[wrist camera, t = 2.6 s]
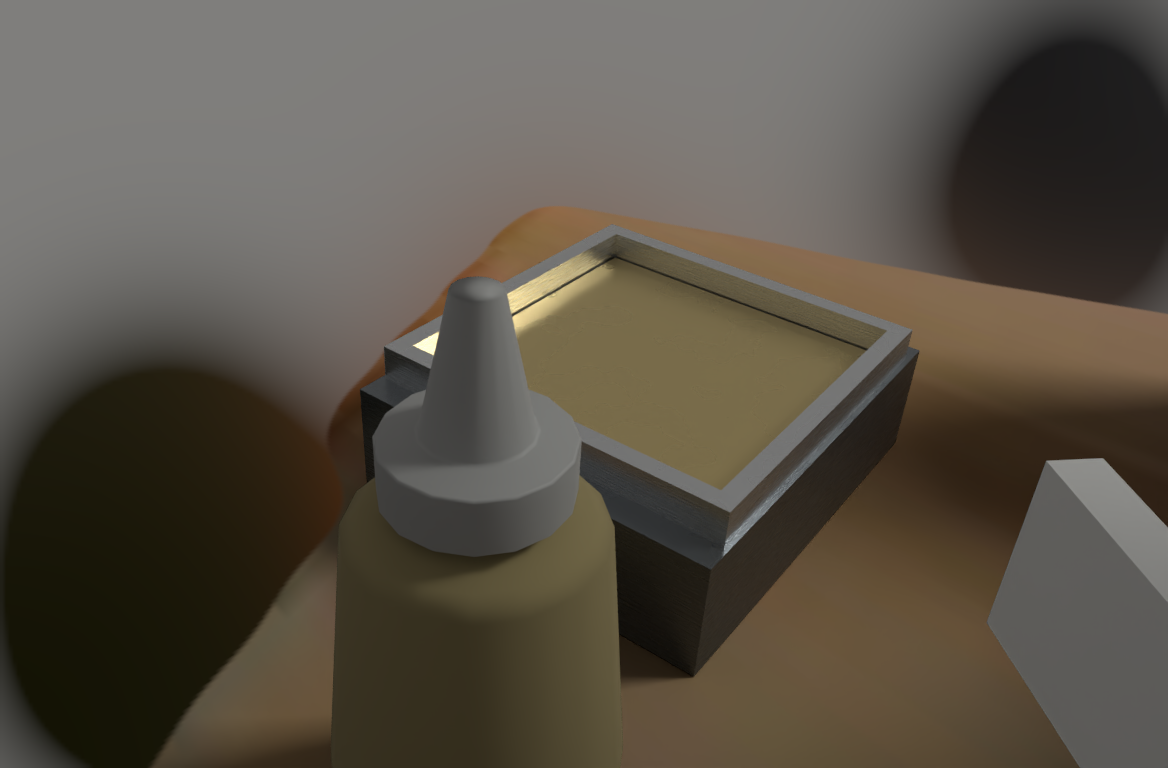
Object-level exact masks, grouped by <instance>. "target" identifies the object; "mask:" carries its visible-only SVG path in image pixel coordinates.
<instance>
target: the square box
mask: <svg viewBox="0 0 1168 768" xmlns="http://www.w3.org/2000/svg"><path fill="white" fill-rule="evenodd" d="M502 284H503V285H504V286H505V289H506V292H507V296H508V301H509V305H510V310H511V314H512V319H513V323H514V327H515V332H516V336H517V341H518V345H519V350H520V354H521V358H522V363H523V367H524V372H525V376H526V381H527V385H528V389H529V390H531V391H534V392H537V393H539V394H542V395H544V396H547V397H549V398H550V399H551V400H552V401H553V402H555V403H556V404H557V405H558V406H560V407H561V408H562V409H563V410H564V411H566V412H567V413H568V414H569V415H570V416H572V418H573V420H574V423H575V425H576V427H577V430H578V432H579V435H580V437H581V439H582V443H581V459H580V474H579V475H580V476H581V477H582V478H583V479H585V480H586V481H587V482H588V483H589V484H590V485H591V486H593V487H594V488H595V489H596V490H597V491H598V492H599V493H600V494H601V495H602V498H603V500H604V503H605V505H606V507H607V510H608V512H609V515H610V517H611V520H612V522H613V525H614V527H615V552H616V578H617V604H618V629H619V634H620V635H622V636H624V637H626V638H627V639H629V640H631V641H633V642H634V643H636V644H638V645H640V646H641V647H643V648H645V649H647V650H648V651H650V652H652V653H654V654H655V655H657V656H659V657H661V658H662V659H664V660H666V661H667V662H669V663H671V664H673V665H674V666H676V667H678V668H680V669H681V670H683V671H685V672H687V673H688V674H690V675H692V676H695V675H696V674H697V672H698V671H699V670H700V669H701V668H702V667H703V665H704V664H705V663H706V662H707V661H708V660H709V658H710V657H711V656H712V655H713V654H714V653H715V651H716V650H717V649H718V648H719V647H720V646H721V644H722V643H723V642H724V641H725V640H726V639H727V637H728V636H729V635H730V634H731V633H732V632H733V631H734V629H735V628H736V627H737V626H738V625H739V624H740V622H741V621H742V620H743V619H744V618H745V617H746V615H747V614H748V613H749V612H750V611H751V610H752V608H753V607H754V606H755V605H756V604H757V603H758V601H759V600H760V599H761V598H762V597H763V596H764V595H765V593H766V592H767V591H768V590H769V589H770V588H771V586H772V585H773V584H774V583H775V582H776V581H777V579H778V578H779V577H780V576H781V575H782V574H783V572H784V571H785V570H786V569H787V568H788V567H789V565H790V564H791V563H792V562H793V561H794V560H795V558H796V557H797V556H798V555H799V554H800V553H801V552H802V550H803V549H804V548H805V547H806V546H807V545H808V543H809V542H810V541H811V540H812V539H813V538H814V536H815V535H816V534H817V533H818V532H819V531H820V529H821V528H822V527H823V526H824V525H825V524H826V522H827V521H828V520H829V519H830V518H831V517H832V515H833V514H834V513H835V512H836V511H837V510H838V509H839V507H840V506H841V505H842V504H843V503H844V502H845V500H846V499H847V498H848V497H849V496H850V495H851V493H852V492H853V491H854V490H855V489H856V488H857V486H858V485H859V484H860V483H861V482H862V481H863V479H864V478H865V477H866V476H867V475H868V474H869V473H870V471H871V470H872V469H873V468H874V467H875V466H876V464H877V463H878V462H879V461H880V460H881V459H882V457H883V456H884V455H885V454H886V453H887V452H888V450H889V449H890V448H891V447H892V446H893V445H894V443H895V441H896V438H897V434H898V430H899V426H900V423H901V419H902V415H903V411H904V408H905V404H906V400H907V396H908V392H909V389H910V385H911V381H912V377H913V374H914V370H915V366H916V362H917V359H918V355H919V350H916V349H913V348H911V347H908V346H909V342H910V338H911V334H912V330H911V329H909V328H906V327H903V326H900V325H897V324H894V323H891V322H889V321H886V320H883V319H880V318H877V317H874V316H872V315H869V314H866V313H863V312H860V311H857V310H855V309H852V308H849V307H846V306H843V305H840V304H837V303H835V302H832V301H829V300H826V299H823V298H820V297H818V296H815V295H812V294H809V293H806V292H803V291H801V290H798V289H795V288H792V287H789V286H786V285H784V284H781V283H778V282H775V281H772V280H769V279H766V278H764V277H761V276H758V275H755V274H752V273H749V272H747V271H744V270H741V269H738V268H735V267H732V266H730V265H727V264H724V263H721V262H718V261H715V260H712V259H710V258H707V257H704V256H701V255H698V254H695V253H693V252H690V251H687V250H684V249H681V248H678V247H676V246H673V245H670V244H667V243H664V242H661V241H659V240H656V239H653V238H650V237H647V236H644V235H641V234H639V233H636V232H633V231H630V230H627V229H624V228H622V227H619V226H616V225H613V224H612V225H610V226H608V227H606V228H604V229H602V230H600V231H599V232H597V233H595V234H593V235H591V236H589V237H587V238H586V239H584V240H582V241H580V242H578V243H576V244H574V245H572V246H571V247H569V248H567V249H565V250H563V251H561V252H559V253H558V254H556V255H554V256H552V257H550V258H548V259H546V260H544V261H543V262H541V263H539V264H537V265H535V266H533V267H531V268H530V269H528V270H526V271H524V272H522V273H520V274H518V275H516V276H515V277H513V278H511V279H509V280H507V281H505V282H503V283H502ZM442 316H443V315H442ZM442 316H440V317H438V318H436V319H434V320H432V321H431V322H429V323H427V324H425V325H423V326H421V327H419V328H418V329H416V330H414V331H412V332H410V333H408V334H406V335H404V336H403V337H401V338H399V339H397V340H395V341H393V342H391V343H390V344H388V345H386V346H384V357H385V374H386V375H385V376H383V377H381V378H379V379H378V380H376V381H374V382H372V383H370V384H369V385H367V386H365V387H363V388H362V389H360V395H361V409H362V422H363V436H364V449H365V463H366V477H367V483H368V482H369V481H370V480H372V479H373V478H374V477H375V468H374V454H373V439H372V437H373V435H374V433H375V431H376V429H377V427H378V426H379V424H380V422H381V420H382V418H383V417H384V415H385V414H386V413H387V412H388V411H389V410H391V409H392V408H394V407H395V406H396V405H398V404H399V403H401V402H402V401H403V400H405V399H406V398H408V397H409V396H410V395H412V394H415V393H418V392H421V391H424V390H426V388H427V383H428V379H429V374H430V370H431V365H432V361H433V356H434V352H435V348H436V343H437V339H438V334H439V330H440V325H441V321H442Z"/></svg>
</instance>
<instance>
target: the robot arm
mask: <svg viewBox="0 0 1168 768" xmlns="http://www.w3.org/2000/svg"><path fill="white" fill-rule="evenodd" d="M987 624H988V625H989V627H990V629H991V630H992V632H993V633H994V635H995V636H996V638H997V639H998V641H999V643H1000V644H1001V646H1002V647H1003V649H1004V650H1005V652H1006V653H1007V655H1008V657H1009V658H1010V660H1011V661H1012V663H1013V664H1014V666H1015V667H1016V669H1017V671H1018V672H1019V674H1020V675H1021V677H1022V678H1023V680H1024V681H1025V683H1026V685H1027V686H1028V688H1029V689H1030V691H1031V692H1032V694H1033V695H1034V697H1035V699H1036V700H1037V702H1038V703H1039V705H1040V706H1041V708H1042V709H1043V711H1044V713H1045V714H1046V716H1047V717H1048V719H1049V720H1050V722H1051V723H1052V725H1053V727H1054V728H1055V730H1056V731H1057V733H1058V734H1059V736H1060V738H1061V739H1062V741H1063V742H1064V744H1065V745H1066V747H1067V748H1068V750H1069V752H1070V753H1071V755H1072V756H1073V758H1074V759H1075V761H1076V762H1077V764H1078V766H1079V767H1080V768H1168V527H1167V526H1166V525H1165V524H1164V523H1163V522H1162V521H1161V520H1160V519H1159V518H1158V517H1157V516H1156V514H1155V513H1154V512H1153V511H1152V510H1151V509H1150V508H1149V507H1148V506H1147V505H1146V504H1145V503H1144V502H1143V501H1142V499H1141V498H1140V497H1139V496H1138V495H1137V494H1136V493H1135V492H1134V491H1133V490H1132V489H1131V488H1130V487H1129V486H1128V484H1127V483H1126V482H1125V481H1124V480H1123V479H1122V478H1121V477H1120V476H1119V475H1118V474H1117V473H1116V472H1115V471H1114V469H1113V468H1112V467H1111V466H1110V465H1109V464H1108V463H1107V462H1106V461H1105V460H1104V459H1103V458H1096V459H1074V460H1052V461H1046V463H1045V466H1044V468H1043V471H1042V474H1041V476H1040V479H1039V482H1038V485H1037V487H1036V490H1035V493H1034V495H1033V498H1032V501H1031V504H1030V506H1029V509H1028V512H1027V514H1026V517H1025V520H1024V523H1023V525H1022V528H1021V531H1020V533H1019V536H1018V539H1017V541H1016V544H1015V547H1014V550H1013V552H1012V555H1011V558H1010V560H1009V563H1008V566H1007V569H1006V571H1005V574H1004V577H1003V579H1002V582H1001V585H1000V588H999V590H998V593H997V596H996V598H995V601H994V604H993V607H992V609H991V612H990V615H989V617H988V620H987Z"/></svg>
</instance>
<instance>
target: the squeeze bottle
mask: <svg viewBox="0 0 1168 768" xmlns="http://www.w3.org/2000/svg"><path fill="white" fill-rule="evenodd" d="M372 439H373V454H374V468H375V477H374V478H373V479H372V480H370V481H369V482H368V483H367V484H365V485H364V486H363V487H361V488H360V489H359V490H357V491H356V493H355V495H354V497H353V499H352V501H351V502H350V504H349V506H348V508H347V510H346V512H345V514H344V516H343V518H342V520H341V521H340V523H339V532H338V560H337V588H336V616H335V644H334V672H333V700H332V728H331V760H332V768H620V764H621V757H622V750H623V732H622V707H621V681H620V655H619V629H618V604H617V578H616V552H615V527H614V525H613V522H612V520H611V517H610V515H609V512H608V510H607V507H606V505H605V503H604V500H603V498H602V495H601V494H600V493H599V492H598V491H597V490H596V489H595V488H594V487H593V486H591V485H590V484H589V483H588V482H587V481H586V480H585V479H583V478H582V477H581V476H580V475H579V474H580V459H581V443H582V439H581V437H580V435H579V432H578V430H577V427H576V425H575V423H574V420H573V418H572V416H570V415H569V414H568V413H567V412H566V411H564V410H563V409H562V408H561V407H560V406H558V405H557V404H556V403H555V402H553V401H552V400H551V399H550V398H549V397H547V396H544V395H542V394H539V393H537V392H534V391H531V390H529V389H528V385H527V381H526V376H525V372H524V367H523V363H522V358H521V354H520V350H519V345H518V341H517V336H516V332H515V327H514V323H513V319H512V314H511V310H510V305H509V301H508V296H507V292H506V289H505V286H504V285H503V284H502V283H500V282H499V281H497V280H494V279H491V278H487V277H467V278H463V279H459V280H457V281H455V282H454V283H452V284H451V286H450V288H449V290H448V294H447V299H446V303H445V308H444V312H443V316H442V321H441V325H440V330H439V334H438V339H437V343H436V348H435V352H434V356H433V361H432V365H431V370H430V374H429V379H428V383H427V388H426V390H424V391H421V392H418V393H415V394H412V395H410V396H409V397H408V398H406V399H405V400H403V401H402V402H401V403H399V404H398V405H396V406H395V407H394V408H392V409H391V410H389V411H388V412H387V413H386V414H385V415H384V417H383V418H382V420H381V422H380V424H379V426H378V427H377V429H376V431H375V433H374V435H373V437H372Z"/></svg>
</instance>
